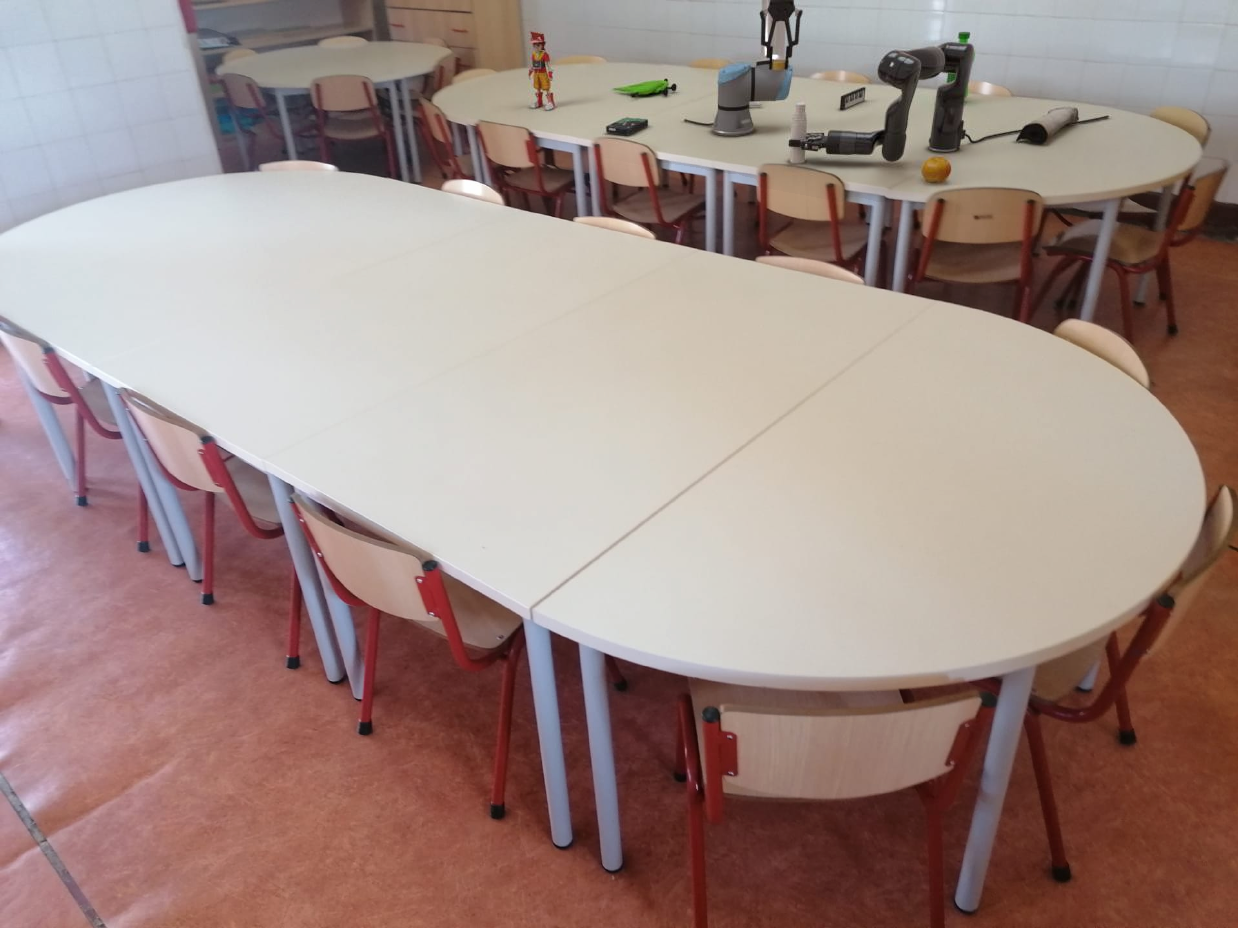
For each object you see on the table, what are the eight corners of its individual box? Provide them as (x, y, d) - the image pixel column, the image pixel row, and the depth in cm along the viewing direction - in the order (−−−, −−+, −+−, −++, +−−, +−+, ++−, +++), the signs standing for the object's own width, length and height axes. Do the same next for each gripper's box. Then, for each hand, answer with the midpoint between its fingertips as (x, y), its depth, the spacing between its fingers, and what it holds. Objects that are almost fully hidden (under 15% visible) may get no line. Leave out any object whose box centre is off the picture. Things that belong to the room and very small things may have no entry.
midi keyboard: (842, 110, 354) (843, 96, 351) (839, 109, 354) (840, 96, 351) (864, 100, 364) (865, 87, 361) (861, 100, 365) (863, 87, 362)
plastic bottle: (973, 101, 354) (984, 32, 339) (955, 106, 349) (966, 36, 335) (952, 97, 361) (962, 29, 346) (934, 102, 356) (944, 33, 342)
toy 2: (686, 85, 398) (631, 84, 414) (685, 72, 395) (629, 72, 411) (651, 104, 381) (596, 103, 397) (650, 92, 378) (594, 91, 394)
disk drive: (628, 136, 338) (648, 126, 348) (628, 129, 337) (648, 118, 347) (605, 134, 343) (625, 123, 353) (605, 126, 341) (625, 116, 351)
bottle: (797, 158, 305) (800, 101, 294) (807, 161, 301) (811, 103, 291) (786, 161, 302) (789, 104, 292) (797, 164, 299) (800, 106, 288)
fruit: (915, 172, 274) (932, 149, 271) (916, 174, 282) (933, 152, 279) (938, 188, 273) (956, 164, 270) (939, 189, 281) (956, 167, 278)
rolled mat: (1045, 112, 324) (1070, 94, 316) (1059, 133, 324) (1084, 116, 316) (1011, 135, 307) (1037, 117, 298) (1026, 157, 307) (1052, 140, 299)
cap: (770, 67, 291) (770, 60, 290) (784, 66, 291) (784, 59, 290) (772, 70, 288) (773, 63, 287) (786, 69, 288) (787, 62, 286)
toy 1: (525, 109, 381) (517, 32, 364) (534, 104, 388) (527, 28, 371) (550, 110, 377) (543, 32, 360) (559, 105, 384) (553, 28, 367)
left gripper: (752, -10, 275) (750, 71, 288) (810, -11, 271) (805, 71, 285) (754, -14, 281) (752, 66, 294) (811, -15, 277) (806, 65, 291)
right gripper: (846, 125, 297) (794, 123, 302) (840, 137, 286) (787, 135, 291) (843, 148, 301) (793, 146, 306) (838, 160, 290) (785, 158, 295)
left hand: (778, 68), depth 290 cm, fingers closed on cap, 4 cm apart
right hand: (790, 141), depth 299 cm, fingers closed on bottle, 5 cm apart
